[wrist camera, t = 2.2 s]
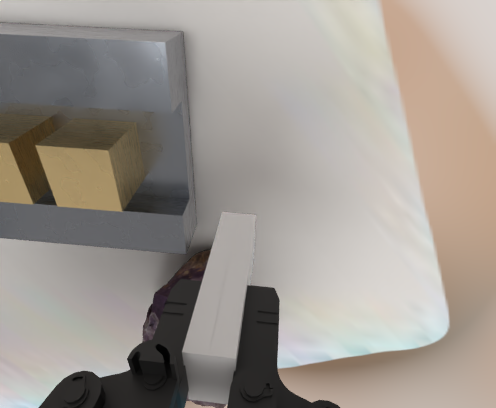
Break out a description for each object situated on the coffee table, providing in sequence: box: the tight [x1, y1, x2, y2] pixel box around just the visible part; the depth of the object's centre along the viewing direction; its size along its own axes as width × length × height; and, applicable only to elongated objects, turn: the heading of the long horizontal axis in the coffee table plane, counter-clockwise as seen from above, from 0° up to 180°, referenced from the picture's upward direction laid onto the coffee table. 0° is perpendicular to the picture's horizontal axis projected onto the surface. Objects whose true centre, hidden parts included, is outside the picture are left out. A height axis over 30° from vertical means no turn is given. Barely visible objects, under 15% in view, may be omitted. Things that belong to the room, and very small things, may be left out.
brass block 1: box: [0, 113, 56, 205], centre depth 21 cm, size 4×4×4 cm
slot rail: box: [0, 23, 197, 254], centre depth 22 cm, size 15×14×4 cm
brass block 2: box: [35, 118, 145, 212], centre depth 20 cm, size 4×4×4 cm
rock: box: [142, 250, 226, 408], centre depth 28 cm, size 12×9×10 cm
